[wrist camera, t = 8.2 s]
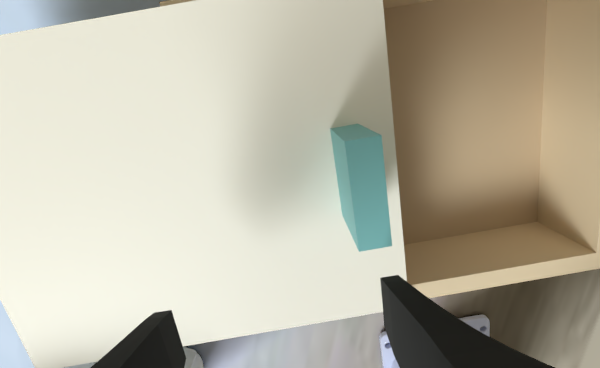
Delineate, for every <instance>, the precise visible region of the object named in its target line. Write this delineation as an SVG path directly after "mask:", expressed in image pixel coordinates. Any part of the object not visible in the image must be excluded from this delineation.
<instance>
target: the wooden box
mask: <svg viewBox="0 0 600 368" xmlns="http://www.w3.org/2000/svg"><path fill="white" fill-rule="evenodd" d="M189 1H195V0H168V1H162V2H159V3H160V7H161V6H167V5H172V4H178V3H183V2H189ZM383 8H384V19H385V31H386V43H387V54H388V66H389V78H390V89H391V101H392V113H393V124H394V136H395V148H396V159H397V171H398V183H399V194H400V206H401V218H402V229H403V241H404V253H405V264H406V276H407V282H408V283H409V284H411V285H412V286H413V287H414V288H416V289H417V290H418V291H420V292H421V293H422V294H424V295H425V296H426V297H428V298H433V297H439V296H445V295H450V294H456V293H462V292H468V291H473V290H479V289H485V288H491V287H496V286H502V285H508V284H514V283H519V282H525V281H531V280H537V279H542V278H548V277H554V276H560V275H565V274H571V273H577V272H583V271H588V270H594V269H600V0H383Z"/></svg>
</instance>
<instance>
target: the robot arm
mask: <svg viewBox="0 0 600 368" xmlns="http://www.w3.org/2000/svg"><path fill="white" fill-rule="evenodd" d="M380 280H381V292H382V303H383V314H384V326H385V330H386V331H384V332H382V333H381V334H380V337H379V339H380V347H381V355H382V364H383V368H554V367H552V366H550V365H547V364H545V363H543V362H540V361H538V360H536V359H534V358H531V357H529V356H527V355H525V354H523V353H520V352H518V351H516V350H514V349H512V348H510V347H508V346H506V345H504V344H502V343H500V342H498V341H496V340H495V339H493V338H491V337H490V321H489V319H488V318H487V317H486V316H485V315H475V316H470V317H464V318H457V317H455V316H454V315H452V314H451V313H449V312H448V311H446V310H445V309H443V308H442V307H440V306H439V305H437V304H436V303H435V302H433V301H432V300H430V299H429V298H428V297H426V296H425V295H424V294H422V293H421V292H420V291H418V290H417V289H416V288H414V287H413V286H412V285H411V284H409V283H408V282H407V281H405V280H404V279H403V278H401V277H400V276H399V275H395V276H388V277H382V278H380ZM481 327H482V328H481ZM386 343H389V344H387V345H385V344H386ZM185 362H186V356H185V352H184V349H183V346H182V343H181V339H180V336H179V333H178V330H177V326H176V323H175V320H174V317H173V313H172V310H168V311H162V312H155V313H153V314H152V315H150V316H149V317H148V318H147V319H145V320H144V321H143V322H142V323H141V324H139V325H138V326H137V327H136V328H135V329H134V330H133V331H132V332H130V333H129V334H128V335H127V336H126V337H125V338H124V339H123V340H122V341H120V342H119V343H118V344H117V345H116V346H115V347H114V348H113V349H111V350H110V351H109V352H108V353H107V354H106V355H105V356H103V357H102V358H101V359H100V360H99V361H98V362H96V363H95V364H94V365H93V366H92V367H90V368H184V366H185Z"/></svg>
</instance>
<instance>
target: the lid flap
mask: <svg viewBox="0 0 600 368" xmlns="http://www.w3.org/2000/svg"><path fill="white" fill-rule="evenodd" d="M395 275H399V276H400V277H401V278H403V279H404V280H405V281H407V276H406V264H405V253H404V241H403V229H402V218H401V206H400V194H399V183H398V171H397V159H396V148H395V136H394V124H393V113H392V101H391V89H390V78H389V66H388V54H387V43H386V31H385V19H384V8H383V0H195V1H189V2H183V3H178V4H172V5H167V6H161V7H155V8H150V9H144V10H138V11H133V12H127V13H122V14H116V15H110V16H105V17H99V18H94V19H88V20H82V21H77V22H71V23H65V24H60V25H54V26H49V27H43V28H37V29H32V30H26V31H21V32H15V33H9V34H4V35H0V300H1V302H2V304H3V306H4V308H5V310H6V312H7V314H8V316H9V318H10V320H11V322H12V324H13V326H14V327H15V329H16V331H17V333H18V335H19V337H20V339H21V341H22V343H23V345H24V347H25V349H26V351H27V353H28V355H29V357H30V359H31V361H32V363H33V365H34V367H35V368H63V367H69V366H74V365H80V364H86V363H92V362H97V361H99V360H100V359H101V358H102V357H103V356H105V355H106V354H107V353H108V352H109V351H110V350H111V349H113V348H114V347H115V346H116V345H117V344H118V343H119V342H120V341H122V340H123V339H124V338H125V337H126V336H127V335H128V334H129V333H130V332H132V331H133V330H134V329H135V328H136V327H137V326H138V325H139V324H141V323H142V322H143V321H144V320H145V319H147V318H148V317H149V316H150V315H152V314H153V313H155V312H162V311H168V310H172V313H173V317H174V320H175V323H176V326H177V330H178V333H179V336H180V339H181V343H182V346H183V347H184V346H189V345H195V344H201V343H206V342H212V341H218V340H224V339H229V338H235V337H241V336H247V335H252V334H258V333H264V332H270V331H275V330H281V329H287V328H293V327H298V326H304V325H310V324H316V323H321V322H327V321H333V320H339V319H344V318H350V317H356V316H362V315H367V314H373V313H379V312H383V303H382V292H381V280H380V278H382V277H388V276H395Z"/></svg>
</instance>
